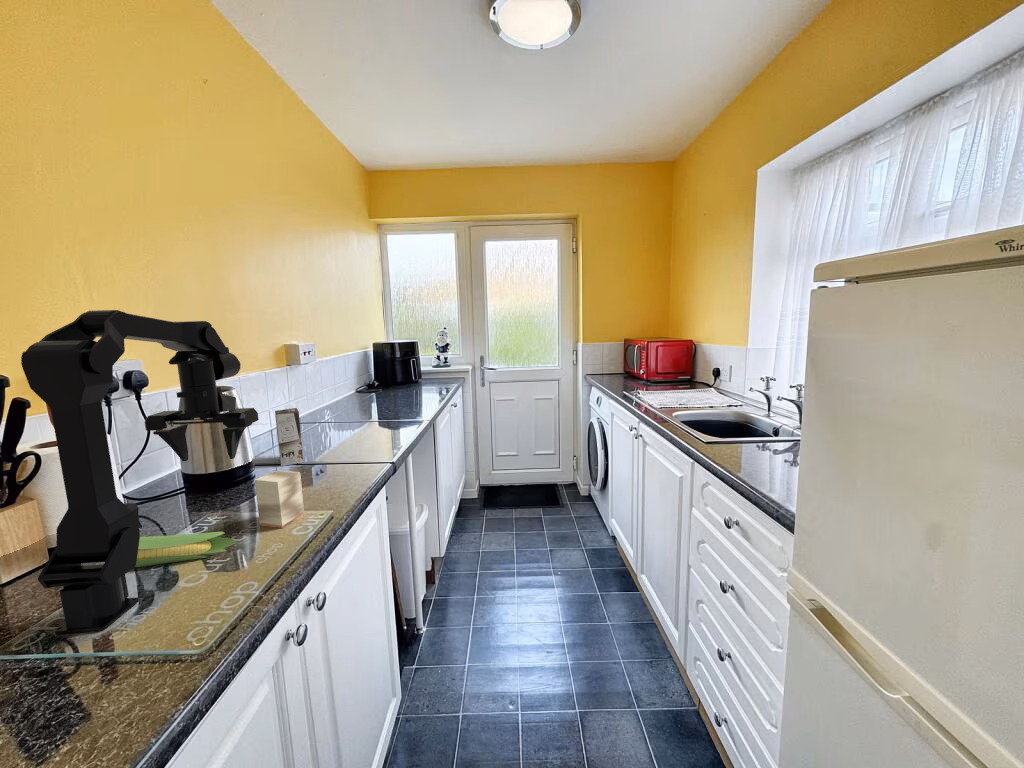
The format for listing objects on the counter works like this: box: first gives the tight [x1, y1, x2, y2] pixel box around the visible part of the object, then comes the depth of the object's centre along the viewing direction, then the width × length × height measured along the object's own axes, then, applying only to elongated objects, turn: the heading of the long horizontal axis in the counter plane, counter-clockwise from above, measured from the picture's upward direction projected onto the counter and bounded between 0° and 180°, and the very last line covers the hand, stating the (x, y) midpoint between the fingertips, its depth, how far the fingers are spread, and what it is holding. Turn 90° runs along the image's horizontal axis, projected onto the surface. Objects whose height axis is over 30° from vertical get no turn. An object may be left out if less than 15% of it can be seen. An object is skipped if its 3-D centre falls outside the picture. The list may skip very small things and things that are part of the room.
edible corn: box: [133, 531, 237, 569], centre depth 75 cm, size 5×20×5 cm
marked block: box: [254, 469, 305, 529], centre depth 90 cm, size 6×6×10 cm
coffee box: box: [274, 407, 304, 467], centre depth 131 cm, size 9×6×16 cm
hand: (209, 459), depth 86 cm, fingers open, 9 cm apart
